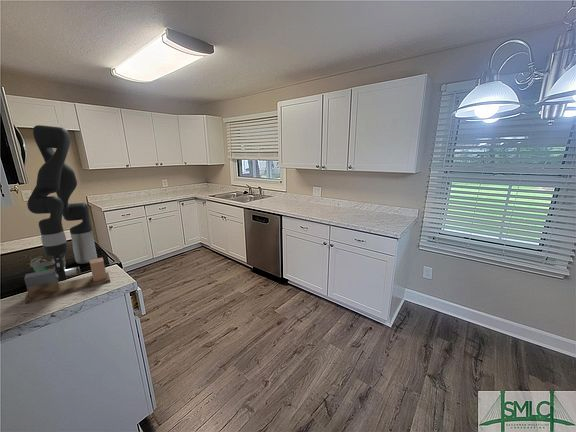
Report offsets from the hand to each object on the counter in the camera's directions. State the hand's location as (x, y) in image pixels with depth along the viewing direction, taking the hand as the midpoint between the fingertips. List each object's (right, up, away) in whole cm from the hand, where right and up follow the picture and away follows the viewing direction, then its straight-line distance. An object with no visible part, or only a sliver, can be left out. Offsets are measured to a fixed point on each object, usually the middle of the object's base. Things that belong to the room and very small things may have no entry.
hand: (63, 278), depth 108 cm
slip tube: (-2, +1, -2) cm, 3 cm away
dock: (+2, -5, +2) cm, 5 cm away
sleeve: (-5, 0, -4) cm, 7 cm away
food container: (-18, -3, +10) cm, 21 cm away
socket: (+10, -2, +9) cm, 13 cm away
